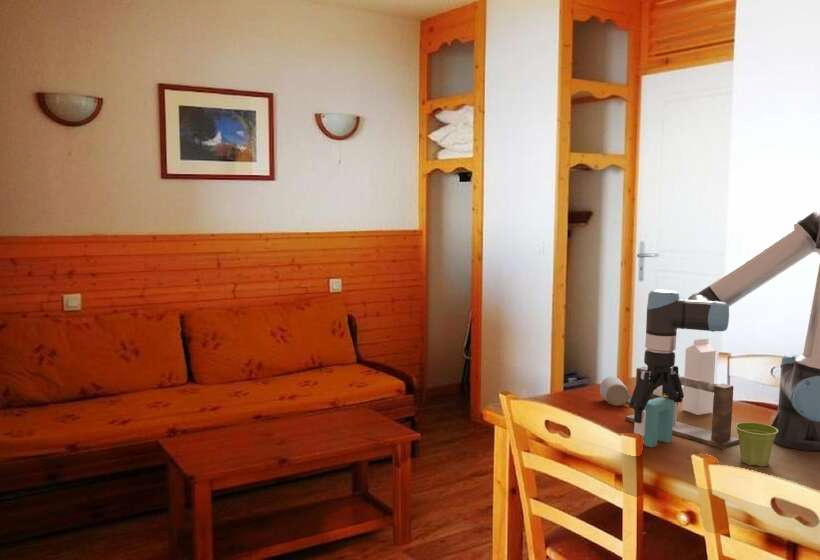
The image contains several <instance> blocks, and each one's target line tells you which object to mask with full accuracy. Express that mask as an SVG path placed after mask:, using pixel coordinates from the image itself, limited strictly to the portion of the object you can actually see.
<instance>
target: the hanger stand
mask: <svg viewBox="0 0 820 560" xmlns="http://www.w3.org/2000/svg"><path fill="white" fill-rule="evenodd" d="M647 368H648V366H647V365H645V366H641V367H637V368H636V374H635V384H636V383H637V381H638V375H639V371H640V370H641V371H645V372H647ZM679 379H680V383H681V386H683V387H684V386H687V387H691V388H696V389H700V390H704V391H708V392H713V407H712V419H711V420H712V422H711V424H712V425H711V430H709V429H705V428H702V427H698V426H694V425H691V424H688V423H684V422H679V421H677V420H676V427H673V428H672V435H674V436H675V435H676V436H679V437H682V438H686V439H689V440H693V441H695V442H700V443H702V444H707V445H709V446H711V447H712V446H713V447H716V448H719V449H722V448H723V449H726V448H729V447H731V445H732V446H734V444H735V445H738V444H739V437H738V438H737V437H734V436H731V435H732V434H731V433H732V431H731V430H732V417H733V404H734V403H733V401H734V385H731V384H727V383H720V384H719V383H715V382H714V383H710V382H705V381H701V380H697V379H692V378H688V377H684V376H682V375H680V376H679ZM649 384H650V382H649ZM651 399H654V394H653V393H652V395H651V397H650V399H649V400H651ZM634 414H635V413H633V414H631V415H627V416H625V421H628V422H632V423H634V424H635V422H634V417H635V416H634ZM728 446H729V447H728Z"/></svg>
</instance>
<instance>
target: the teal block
mask: <svg viewBox="0 0 820 560" xmlns="http://www.w3.org/2000/svg"><path fill="white" fill-rule="evenodd" d="M673 408H674V400H670V399H669V398H667V397H660V396H658V397H656V398H653V399H651V400H649V401H648V403H647V405H646V407H645V408H644V410H645V411H646V421H645V436H643V440H644V445H643V446H646V447H648V448H652V449H653V448H655V447H657V446H658V441H660V442H664V443H666V444H667V443H671V442H672V441H673V434H672V428H673Z"/></svg>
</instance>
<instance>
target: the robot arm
mask: <svg viewBox="0 0 820 560" xmlns="http://www.w3.org/2000/svg"><path fill="white" fill-rule="evenodd" d="M812 253H817V254H818V255H819V256H820V203H819V204H818V205H817V206H816V207H814V208H813V209H812V210H810V211H809V212H808V213H806V214H805V215H804V216H802V217H801V218H799V220H797V221H795V222H794V224H793V228H792V229H791V230H789V231H788V232H786V233H785V234H783V235H782V236H781V237H778V238H777V239H776V240H775V241H772V243H770V244H768V245H767V246H765V247H764V248H763V249H761V250H760V251H758V252H757V253H755V254H754V255H753V256H751V257H749V258H748V259H746V260H744V261H743V262H741V263H740V264H738V265H737V266H736V267H734V268H733V269H731V270H730V271H729V272H727V273H725V274H724V275H723V276H721V277H719V278H718V279H716V280H715V281H713V282H712V283H710V284H709V285H708V286H707V287H705V288H703V289H702V290H700V291H699V292H695V293H693V294H691V295H690V296H688V298H687V299H683V298H680V294H679V292H678V291H675V290H671V289H670V290H669V289H653V290H650V291H649V292H648V297H647V303H646V304H647V305H646V320H645V321H646V322H645V323H646V324H645V326H646V327H645V328H646V329H645V343H644V344H645V345H644V348H646V349H645V350H644V358H643V362H644V365H645V366H646V367H648V368H647V372H645V371H641V370H640V371H639V375H638V381H637V383H636V382H635V386H634V389H633V392H632V395H631V396H632V398H631V401H630V403H628V404H629V405H628V407H629V408H630V409H633V410H634V413H633V414H634V416H635V417H634V422H635V423H634V422H633V423H634V424H633V425H634V428H633V434H634V433H636V434H635V435H637V434H640V435H641V436H645V421H646V411H645V410H644V408H645V407H646V405H647V403H648V401H649V399H650V397H651V395H652V393H653V391H654V390H655V389H657V387H660V386H661V385H662V386H663V388H664V390H665V392H666V394H667V396H668V397H667V399H670V400H674V408H673V427H676V421H677V418H678V416H677V414H678V404H679V403H683V397H684V394H683V392H684V389H683V387H682V386H683V385H681V383H680V379H679V375H678V374H679V366H678V365H676V363H675V362H676V353H675V351H676V349H677V335H678V334H677V330H678V329H681V330H693V331H694V330H695V331H707V332H708V331H709V332H712V333H714V332H725V331H727V329H728V327H729V323H730V322H729V321H730V307H731V306H733V305H734V304H735V303H737V302H739V301H740V300H741V299H743V298H745V297H746V296H748V295H749V294H751V293H753V292H754V291H756V290H757V289H759V288H760V287H762V286H764V285H765V284H766V283H768V282H769V281H771V280H773V279H774V278H776V277H778V275H780V274H781V273H783V272H785V271H786V270H788V269H790V268H791V267H793V266H794V265H796V264H797V263H798V262H800V261H801V260H803V259H805V258H806V257H808V256H810V254H811V255H812ZM817 271H818V272H817V276H816V282H815V287H814V292H813V297H812V298H813V299H812V303H811V308H810V315H809V319H808V320H809V321H808V324H807V325H808V326H807V330H806V331H807V332H806V336H805V342H804V347H803V351H802V354H799V355H798V354H786V355H783V357H782V358H781V362H780V363H781V364H780V376H779V390H778V391H779V392H778V408H777V411H776V414H775V416H774V418H773V420H772V423H771V425H770V426H773V427H775V428H777V429H778V433H777V434H776V437H775V439H774V441H773V443H775V444H778V445H779V446H783V447H786V448H790V449H795V450H801V451H808V452H809V451H810V452H811V451H812V452H820V451H819V450H820V264H819V265H818V270H817ZM649 382H650V384H649ZM677 392H678V393H677ZM634 403H635V404H634Z"/></svg>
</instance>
